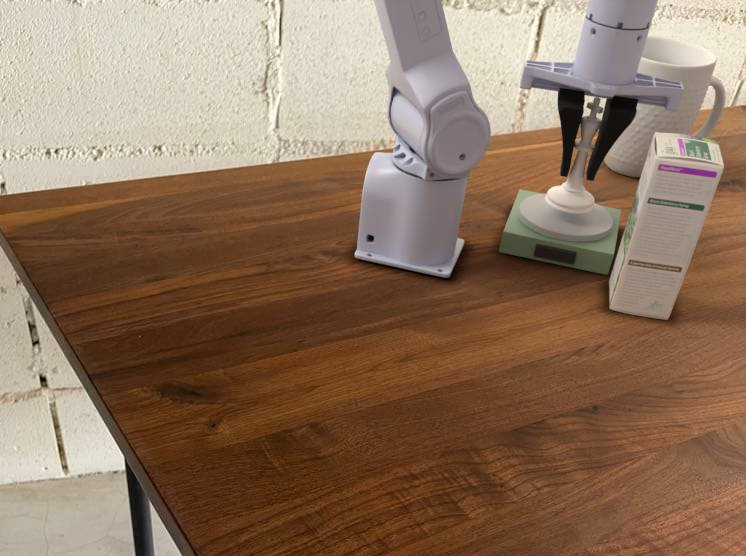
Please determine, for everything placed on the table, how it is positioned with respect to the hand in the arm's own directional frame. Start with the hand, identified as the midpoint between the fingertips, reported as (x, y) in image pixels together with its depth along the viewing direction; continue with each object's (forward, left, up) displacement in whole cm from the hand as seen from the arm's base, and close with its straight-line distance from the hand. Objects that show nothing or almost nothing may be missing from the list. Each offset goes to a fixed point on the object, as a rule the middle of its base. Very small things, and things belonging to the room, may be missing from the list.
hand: (576, 174), depth 87 cm
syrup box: (+9, -10, -7) cm, 15 cm away
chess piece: (0, 0, -3) cm, 3 cm away
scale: (0, 0, -7) cm, 7 cm away
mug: (+7, +24, -7) cm, 26 cm away
